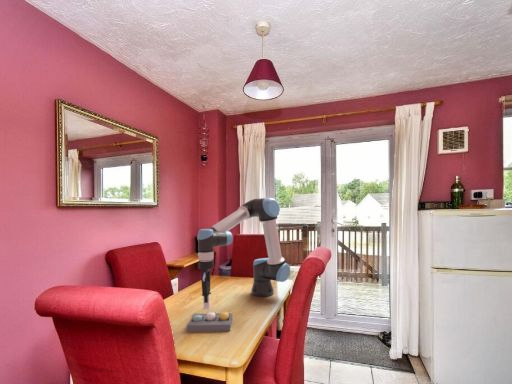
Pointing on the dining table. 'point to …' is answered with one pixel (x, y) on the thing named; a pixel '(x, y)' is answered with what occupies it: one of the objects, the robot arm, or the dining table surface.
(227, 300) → the dining table surface
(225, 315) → the button ochre
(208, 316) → the button white
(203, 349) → the dining table surface
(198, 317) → the button teal
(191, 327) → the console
